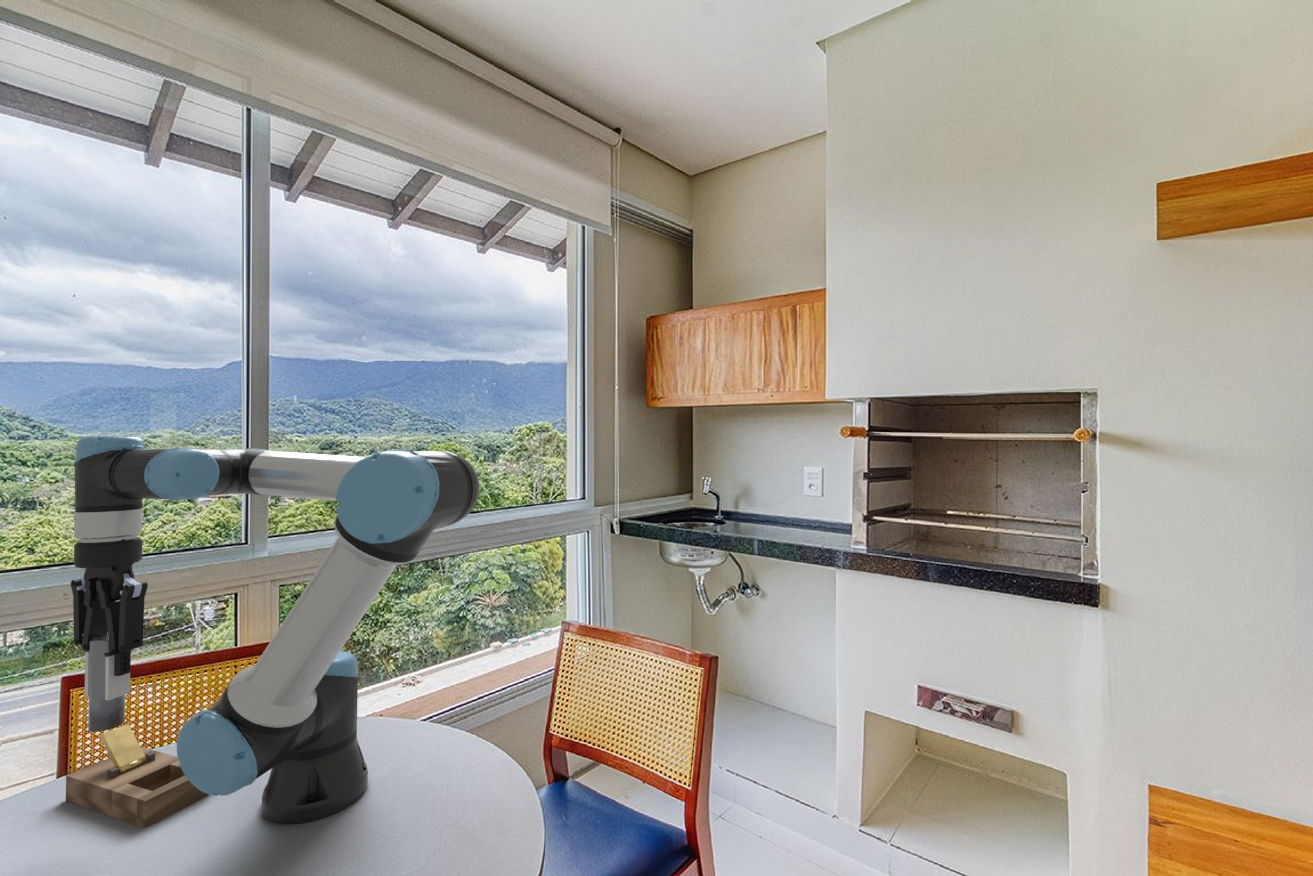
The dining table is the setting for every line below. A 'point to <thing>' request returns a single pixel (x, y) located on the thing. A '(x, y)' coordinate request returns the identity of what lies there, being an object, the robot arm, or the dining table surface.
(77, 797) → the block
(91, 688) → the peg
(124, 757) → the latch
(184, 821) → the dining table surface
